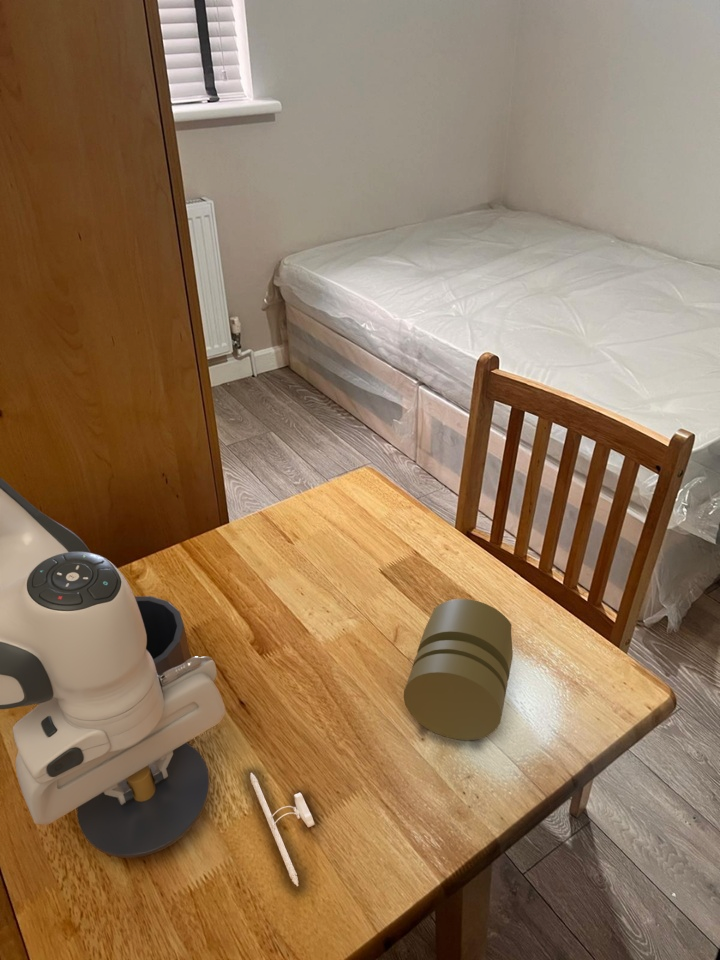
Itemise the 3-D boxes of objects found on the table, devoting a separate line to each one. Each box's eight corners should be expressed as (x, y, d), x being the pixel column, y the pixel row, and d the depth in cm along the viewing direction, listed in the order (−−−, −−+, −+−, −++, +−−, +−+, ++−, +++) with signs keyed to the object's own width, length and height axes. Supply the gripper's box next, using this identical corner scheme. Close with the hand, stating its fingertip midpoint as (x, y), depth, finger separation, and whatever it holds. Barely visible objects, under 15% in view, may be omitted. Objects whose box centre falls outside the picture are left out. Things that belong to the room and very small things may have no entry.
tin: (101, 754, 86) (77, 690, 79) (90, 676, 95) (68, 614, 89) (206, 718, 90) (192, 655, 83) (185, 647, 99) (171, 585, 93)
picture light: (248, 776, 83) (246, 765, 82) (283, 760, 85) (282, 749, 83) (294, 889, 73) (293, 878, 72) (334, 869, 74) (333, 858, 73)
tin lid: (86, 883, 71) (74, 858, 68) (74, 768, 81) (63, 742, 78) (224, 829, 75) (217, 803, 72) (195, 726, 85) (189, 700, 82)
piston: (510, 672, 95) (520, 609, 88) (496, 749, 85) (505, 686, 79) (425, 653, 98) (429, 591, 91) (402, 725, 88) (404, 662, 82)
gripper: (197, 630, 76) (215, 715, 84) (-7, 736, 66) (35, 820, 74) (227, 667, 72) (243, 752, 80) (14, 786, 62) (57, 870, 70)
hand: (142, 786), depth 77 cm, fingers closed on tin lid, 2 cm apart
